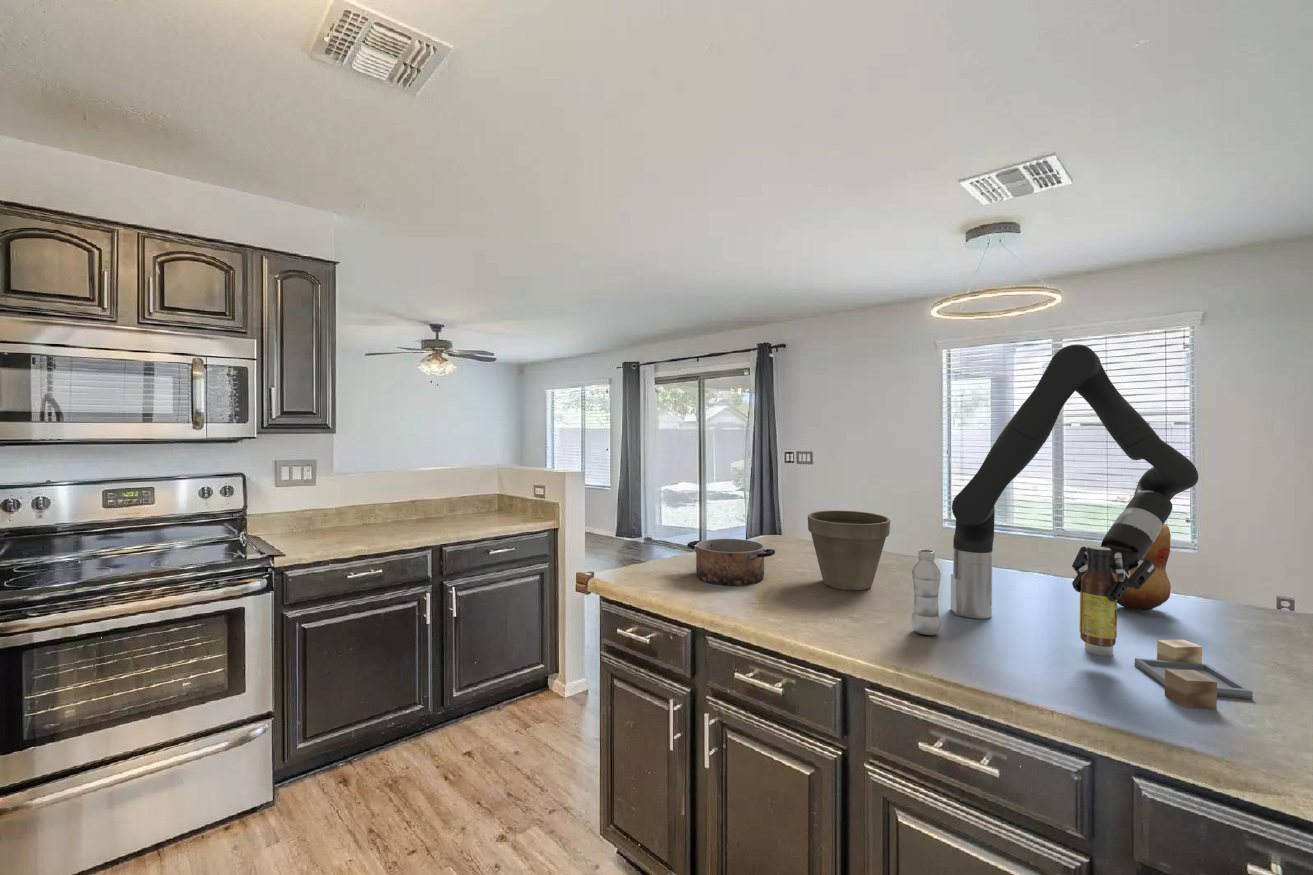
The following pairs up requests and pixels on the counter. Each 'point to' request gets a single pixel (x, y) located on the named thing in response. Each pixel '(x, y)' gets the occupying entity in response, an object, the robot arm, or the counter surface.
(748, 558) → the cooking pot
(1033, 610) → the counter surface
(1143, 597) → the butternut squash
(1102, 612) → the sauce bottle
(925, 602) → the plastic bottle
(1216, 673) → the tray
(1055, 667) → the counter surface
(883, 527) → the plant pot
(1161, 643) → the oak block
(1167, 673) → the walnut block
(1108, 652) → the white rounded cylinder
